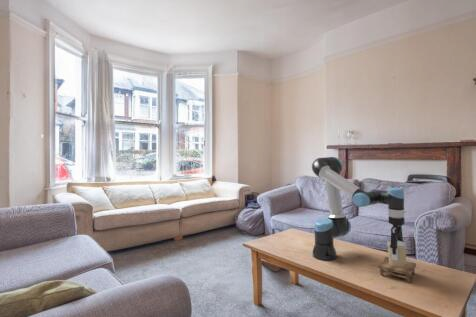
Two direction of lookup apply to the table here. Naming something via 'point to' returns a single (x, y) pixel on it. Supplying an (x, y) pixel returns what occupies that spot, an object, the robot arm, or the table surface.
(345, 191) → the robot arm
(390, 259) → the coffee cup
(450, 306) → the table surface
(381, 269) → the footstool
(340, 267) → the table surface
